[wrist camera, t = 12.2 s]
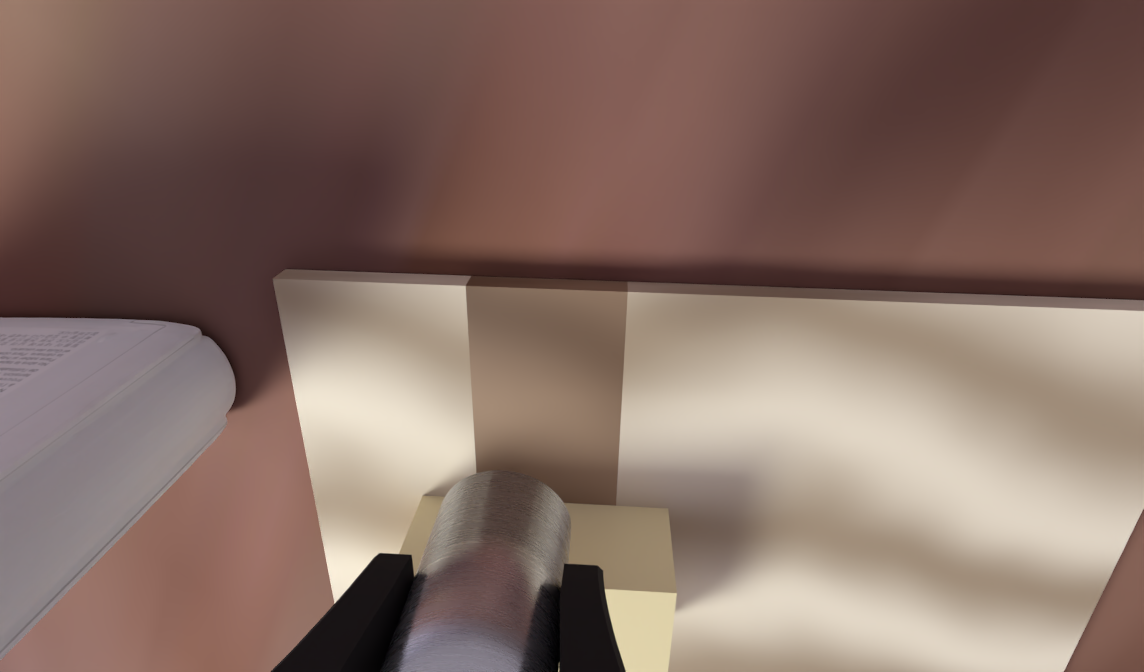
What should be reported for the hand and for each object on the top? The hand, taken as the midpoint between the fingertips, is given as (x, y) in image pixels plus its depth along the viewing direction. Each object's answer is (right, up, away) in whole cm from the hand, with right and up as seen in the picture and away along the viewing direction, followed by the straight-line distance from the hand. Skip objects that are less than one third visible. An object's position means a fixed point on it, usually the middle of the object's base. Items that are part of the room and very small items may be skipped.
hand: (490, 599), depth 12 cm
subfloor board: (+6, -2, +10) cm, 12 cm away
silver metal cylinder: (0, +1, +2) cm, 2 cm away
